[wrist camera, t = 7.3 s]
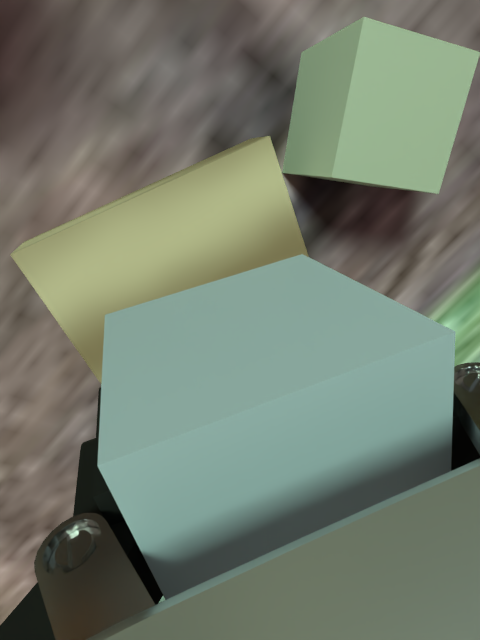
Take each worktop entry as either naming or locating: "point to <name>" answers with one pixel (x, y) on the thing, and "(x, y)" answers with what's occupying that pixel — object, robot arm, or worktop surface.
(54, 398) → the worktop surface
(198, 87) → the worktop surface
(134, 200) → the maple slab
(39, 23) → the worktop surface
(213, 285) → the blue cube
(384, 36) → the sage block
